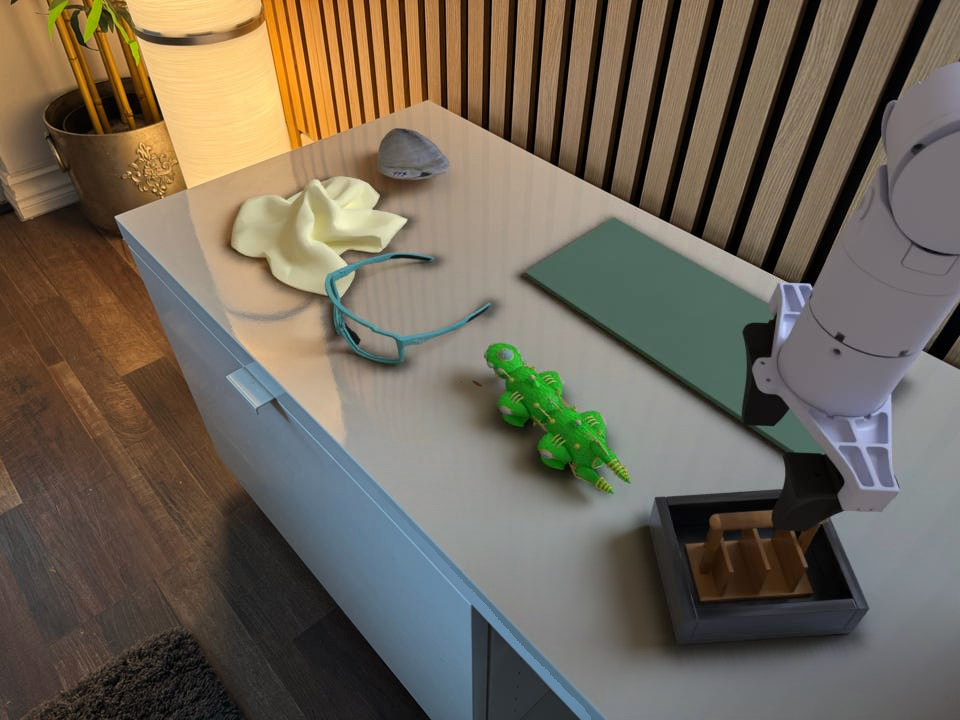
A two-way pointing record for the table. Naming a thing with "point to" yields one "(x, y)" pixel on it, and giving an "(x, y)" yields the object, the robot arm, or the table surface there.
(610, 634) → the table surface
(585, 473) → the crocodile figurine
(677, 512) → the open box
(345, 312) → the sunglasses
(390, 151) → the seashell
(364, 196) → the cloth
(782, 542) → the dish rack
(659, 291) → the drying mat
